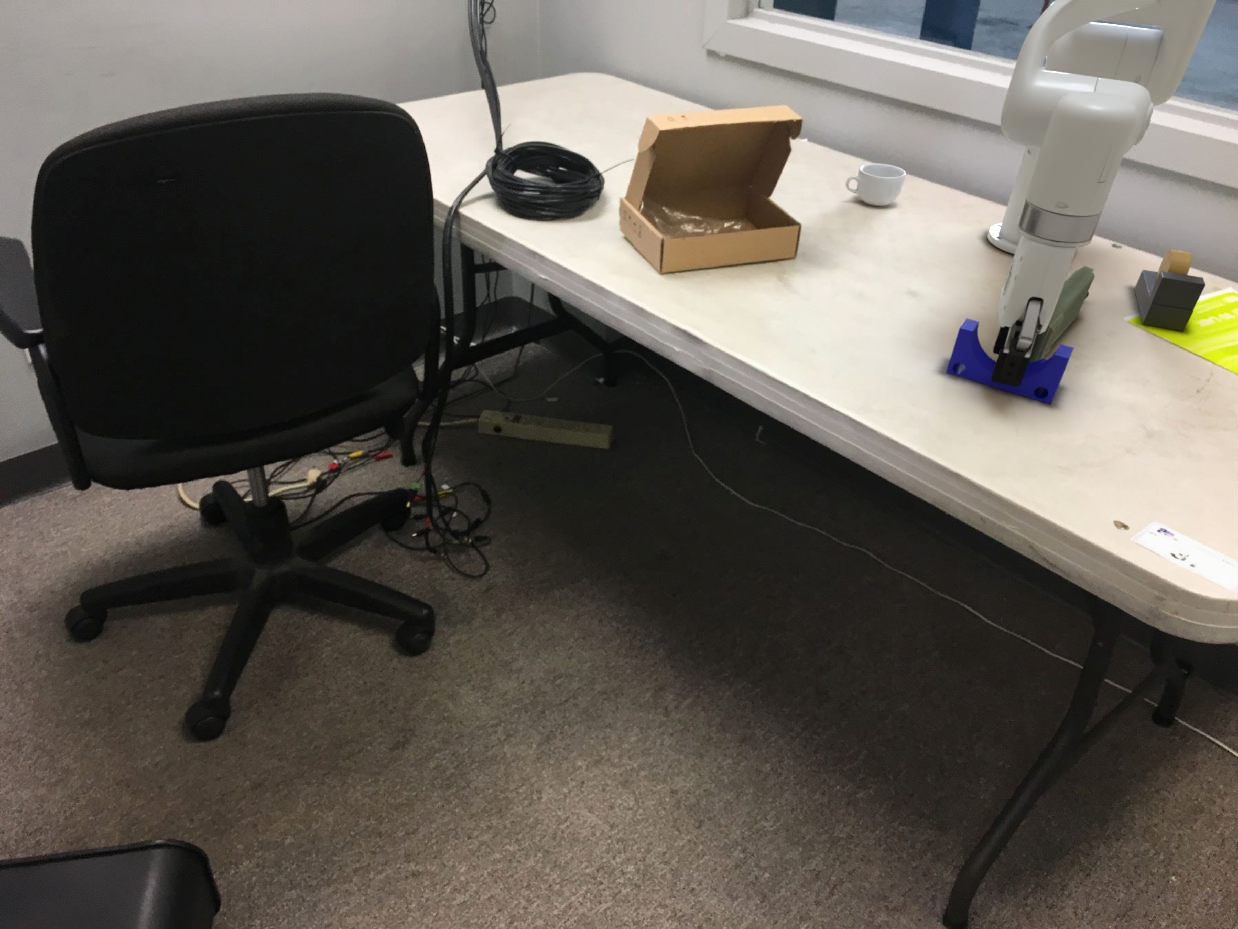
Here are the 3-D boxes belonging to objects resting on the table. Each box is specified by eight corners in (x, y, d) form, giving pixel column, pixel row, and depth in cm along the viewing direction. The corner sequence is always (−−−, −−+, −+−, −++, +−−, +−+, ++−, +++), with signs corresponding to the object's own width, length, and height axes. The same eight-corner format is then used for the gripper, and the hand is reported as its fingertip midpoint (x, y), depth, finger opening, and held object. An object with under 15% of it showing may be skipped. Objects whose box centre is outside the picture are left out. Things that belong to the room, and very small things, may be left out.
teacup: (888, 193, 154) (895, 162, 151) (906, 209, 148) (913, 177, 145) (835, 194, 153) (840, 163, 149) (850, 210, 147) (856, 178, 143)
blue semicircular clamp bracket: (1058, 387, 102) (1076, 342, 98) (1050, 404, 99) (1069, 358, 95) (956, 357, 107) (969, 313, 103) (946, 372, 104) (959, 327, 100)
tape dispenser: (1134, 288, 125) (1156, 235, 120) (1172, 295, 124) (1196, 242, 119) (1142, 324, 116) (1167, 268, 111) (1183, 331, 115) (1210, 275, 110)
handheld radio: (1006, 363, 106) (1067, 297, 122) (1033, 373, 105) (1091, 305, 120) (1025, 315, 102) (1086, 252, 118) (1054, 325, 100) (1112, 260, 116)
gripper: (1020, 189, 98) (975, 330, 109) (1019, 243, 85) (968, 397, 96) (1091, 200, 96) (1038, 342, 107) (1101, 257, 83) (1040, 413, 94)
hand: (1005, 367), depth 101 cm, fingers open, 6 cm apart
